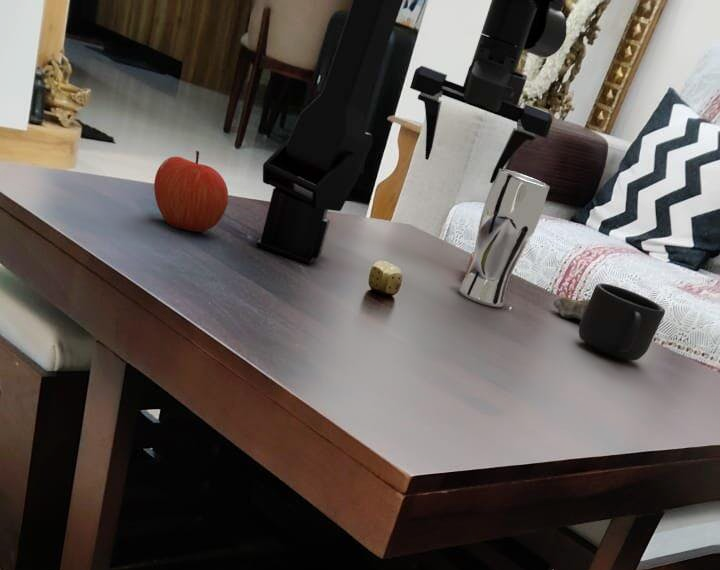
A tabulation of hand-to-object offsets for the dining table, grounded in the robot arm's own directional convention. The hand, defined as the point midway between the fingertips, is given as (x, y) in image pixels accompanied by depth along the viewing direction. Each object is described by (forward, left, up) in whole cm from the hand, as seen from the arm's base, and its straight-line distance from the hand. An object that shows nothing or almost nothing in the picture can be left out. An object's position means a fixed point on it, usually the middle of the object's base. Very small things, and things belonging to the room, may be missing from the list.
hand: (458, 171), depth 133 cm
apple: (-27, -32, -12) cm, 44 cm away
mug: (+25, -21, -12) cm, 34 cm away
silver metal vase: (+8, -14, -12) cm, 20 cm away
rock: (+24, -6, -12) cm, 27 cm away
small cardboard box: (+8, -4, -12) cm, 15 cm away
